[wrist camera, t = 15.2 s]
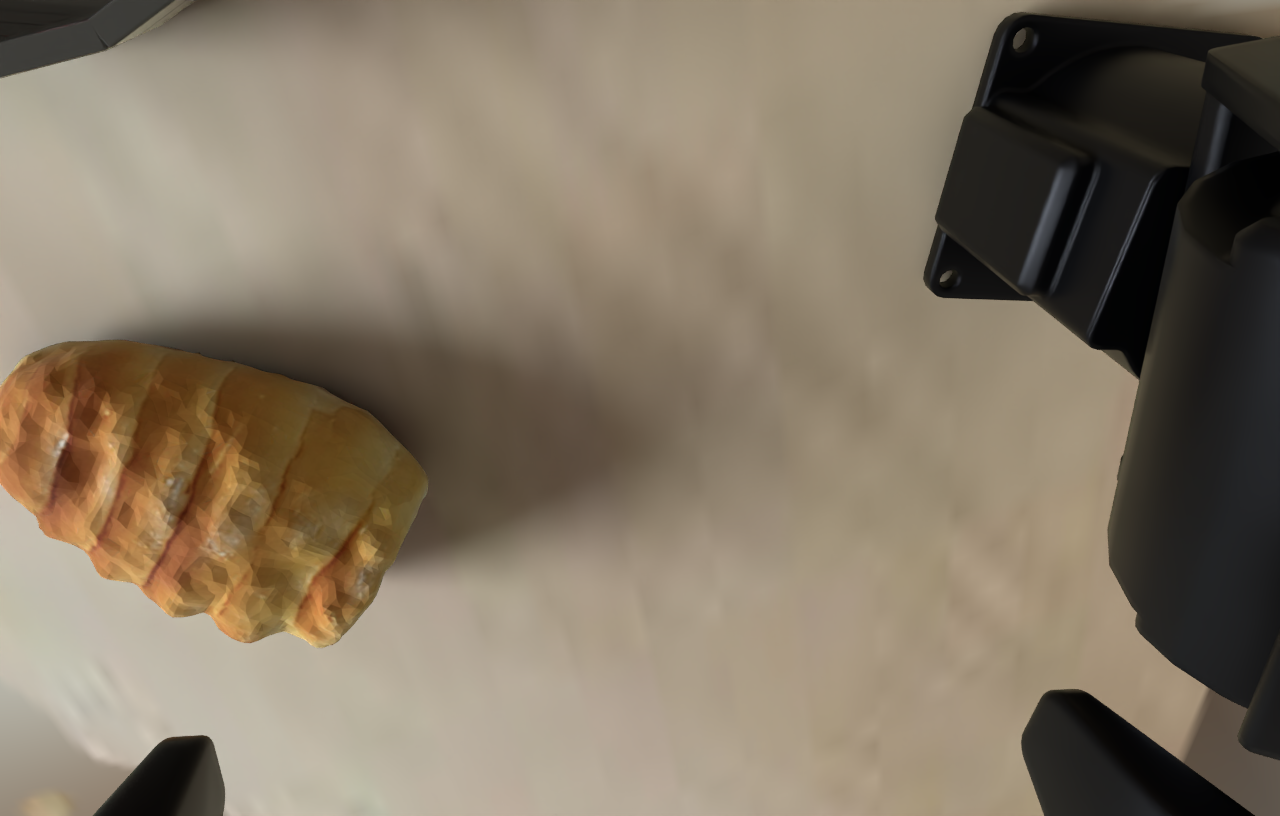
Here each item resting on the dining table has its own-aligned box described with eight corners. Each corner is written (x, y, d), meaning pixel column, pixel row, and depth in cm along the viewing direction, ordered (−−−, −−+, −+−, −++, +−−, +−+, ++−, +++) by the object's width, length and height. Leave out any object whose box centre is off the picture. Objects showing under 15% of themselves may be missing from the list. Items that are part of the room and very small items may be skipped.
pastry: (-21, 474, 21) (-116, 583, 18) (65, 251, 18) (-26, 330, 15) (344, 600, 24) (321, 708, 21) (457, 430, 22) (450, 523, 19)
